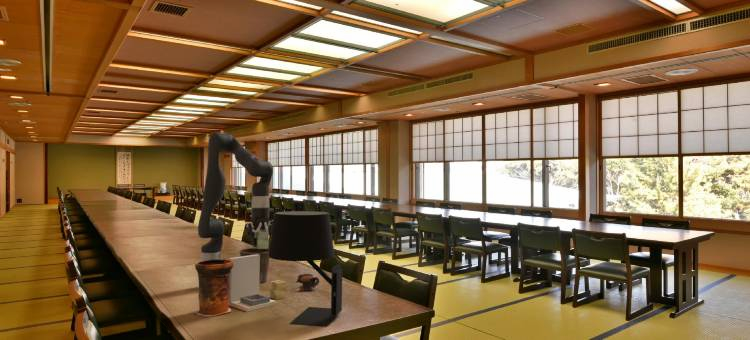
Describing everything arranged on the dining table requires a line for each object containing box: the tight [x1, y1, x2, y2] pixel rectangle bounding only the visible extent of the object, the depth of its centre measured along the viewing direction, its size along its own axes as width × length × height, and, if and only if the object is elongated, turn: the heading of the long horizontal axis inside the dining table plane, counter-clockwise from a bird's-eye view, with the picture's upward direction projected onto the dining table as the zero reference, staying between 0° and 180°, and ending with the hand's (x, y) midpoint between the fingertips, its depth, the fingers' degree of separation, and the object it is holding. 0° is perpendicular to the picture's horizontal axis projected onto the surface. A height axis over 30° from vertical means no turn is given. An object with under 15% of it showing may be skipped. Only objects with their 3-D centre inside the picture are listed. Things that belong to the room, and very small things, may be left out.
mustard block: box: [269, 279, 287, 300], centre depth 201 cm, size 5×5×7 cm
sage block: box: [251, 230, 270, 249], centre depth 194 cm, size 5×5×7 cm
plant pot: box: [238, 247, 270, 285], centre depth 231 cm, size 16×16×16 cm
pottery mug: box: [296, 273, 320, 292], centre depth 218 cm, size 12×10×8 cm
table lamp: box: [268, 210, 343, 328], centre depth 175 cm, size 26×28×40 cm
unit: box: [228, 254, 277, 313], centre depth 189 cm, size 14×14×20 cm
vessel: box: [194, 258, 233, 317], centre depth 178 cm, size 14×14×20 cm
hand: (260, 245), depth 194 cm, fingers closed on sage block, 5 cm apart
